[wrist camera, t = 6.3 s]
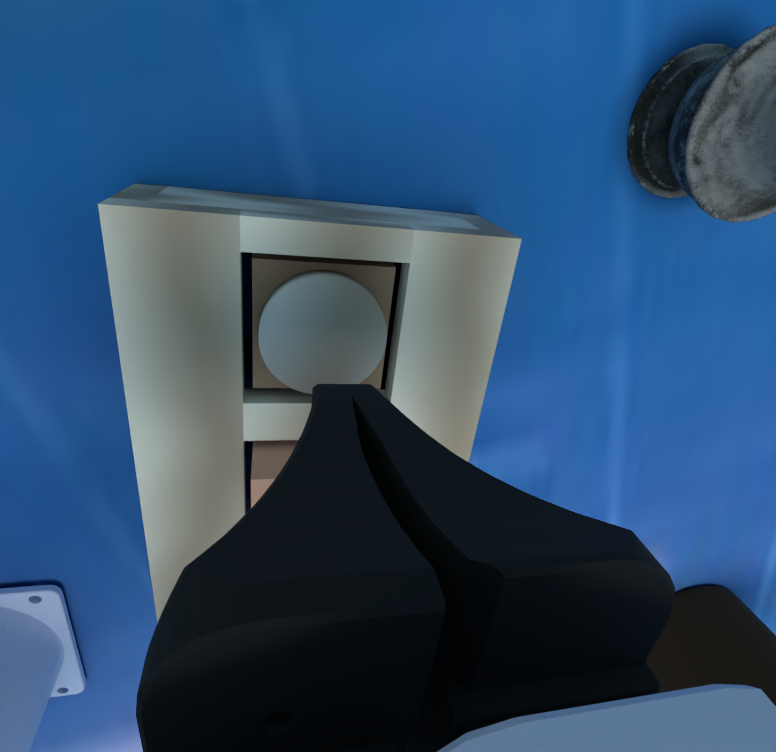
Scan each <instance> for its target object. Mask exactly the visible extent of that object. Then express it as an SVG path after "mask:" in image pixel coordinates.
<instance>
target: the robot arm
mask: <svg viewBox="0 0 776 752" xmlns="http://www.w3.org/2000/svg"><path fill="white" fill-rule="evenodd" d="M674 596H675V587H674V584H673V582H672V580H671V577H670V575H669V574H668V573H667V571H666V570H665V569H664V568H663V567H662V566H661V564H660V563H659V562H658V561H657V560H656V559H655V557H654V556H653V555H652V554H651V553H650V552H649V550H648V549H647V548H646V547H645V546H644V544H643V543H642V542H641V541H640V540H639V539H638V537H637V536H636V535H635V534H634V533H633V532H632V531H631V530H628V529H625V528H622V527H619V526H616V525H612V524H609V523H606V522H603V521H600V520H597V519H593V518H590V517H587V516H584V515H581V514H578V513H575V512H572V511H569V510H567V509H564V508H562V507H559V506H557V505H554V504H552V503H549V502H546V501H544V500H541V499H539V498H537V497H534V496H532V495H530V494H528V493H525V492H523V491H521V490H519V489H517V488H515V487H513V486H511V485H509V484H507V483H505V482H503V481H501V480H499V479H497V478H495V477H493V476H491V475H489V474H487V473H486V472H484V471H482V470H480V469H478V468H477V467H475V466H474V465H472V464H470V463H469V462H467V461H465V460H464V459H462V458H461V457H459V456H457V455H456V454H454V453H453V452H451V451H450V450H448V449H447V448H446V447H444V446H443V445H442V444H440V443H439V442H438V441H436V440H435V439H433V438H432V437H431V436H429V435H428V434H427V433H426V432H424V431H423V430H422V429H421V428H419V427H418V426H417V425H416V424H415V423H413V422H412V421H411V420H410V419H409V418H408V417H406V416H405V415H404V414H403V413H402V412H401V411H400V410H399V409H397V408H396V407H395V406H394V405H393V404H392V403H391V402H390V401H389V400H388V399H387V398H385V397H384V396H383V395H382V394H381V393H380V392H379V391H378V390H377V389H376V388H375V387H373V386H372V385H371V384H317V385H316V386H314V387H313V388H312V404H311V410H310V414H309V416H308V419H307V422H306V424H305V427H304V430H303V432H302V434H301V436H300V438H299V440H298V442H297V444H296V446H295V448H294V450H293V452H292V454H291V455H290V457H289V459H288V460H287V462H286V464H285V465H284V467H283V468H282V470H281V471H280V473H279V474H278V476H277V477H276V479H275V480H274V481H273V482H272V484H271V485H270V486H269V488H268V489H267V490H266V491H265V493H264V494H263V495H262V496H261V498H260V499H259V500H258V501H257V502H256V503H255V505H254V506H253V507H252V508H251V509H250V510H249V511H248V512H247V513H246V514H245V515H244V516H243V517H242V518H241V519H240V520H239V521H238V522H237V523H236V524H235V525H234V526H233V527H232V528H231V529H230V530H229V531H228V532H227V533H226V534H225V535H224V536H223V537H221V538H220V539H219V540H218V541H217V542H215V543H214V544H213V545H212V546H210V547H209V548H208V549H207V550H206V551H204V552H203V553H202V554H201V555H199V556H198V557H197V558H196V559H195V560H193V561H192V562H191V563H189V564H188V565H187V566H185V567H184V569H183V571H182V573H181V574H180V576H179V578H178V580H177V582H176V584H175V586H174V588H173V590H172V592H171V594H170V596H169V598H168V600H167V603H166V605H165V607H164V609H163V611H162V613H161V616H160V618H159V621H158V623H157V626H156V628H155V631H154V634H153V637H152V640H151V642H150V645H149V648H148V651H147V655H146V659H145V663H144V667H143V672H142V676H141V681H140V685H139V689H138V694H137V707H136V717H137V723H138V728H139V733H140V738H141V743H142V748H143V752H776V706H775V705H774V704H773V703H772V702H771V700H770V699H769V698H768V697H767V696H766V694H765V693H764V692H763V691H762V690H761V689H758V688H755V687H751V686H747V685H729V684H711V685H705V686H699V687H693V688H688V689H682V690H676V691H670V692H664V693H658V691H659V690H660V685H659V681H658V679H657V678H656V676H655V675H654V673H653V672H652V670H651V669H650V668H649V666H648V665H647V663H646V662H645V661H646V659H647V657H648V656H649V654H650V652H651V650H652V649H653V647H654V645H655V643H656V641H657V640H658V638H659V636H660V634H661V633H662V631H663V629H664V627H665V626H666V624H667V622H668V619H669V617H670V614H671V612H672V609H673V606H674ZM85 685H86V679H85V675H84V671H83V667H82V664H81V660H80V656H79V652H78V648H77V645H76V641H75V637H74V633H73V629H72V626H71V622H70V618H69V614H68V610H67V607H66V603H65V599H64V595H63V591H62V590H61V588H59V587H58V586H55V585H39V586H26V587H13V588H0V752H30V749H31V746H32V744H33V741H34V738H35V736H36V733H37V731H38V728H39V725H40V723H41V720H42V717H43V715H44V712H45V709H46V707H47V704H48V701H49V699H50V697H57V696H65V695H73V694H78V693H80V692H82V691H83V690H84V688H85ZM657 693H658V694H657Z"/></svg>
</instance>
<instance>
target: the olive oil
mask: <svg viewBox="0 0 776 752" xmlns="http://www.w3.org/2000/svg"><path fill="white" fill-rule="evenodd" d="M645 662H646V663H647V665H648V666H649V668H650V669H651V670H652V672H653V673H654V675H655V676H656V678H657V679H658V681H659V685H660V690H659V691H658V693H664V692H670V691H676V690H682V689H688V688H693V687H699V686H705V685H711V684H729V685H747V686H751V687H755V688H758V689H761V690H762V691H763V692H764V693H765V694H766V696H767V697H768V698H769V699H770V700H771V702H772V703H773V704H774V705H775V706H776V635H775V634H774V633H773V632H772V631H771V630H770V629H769V628H768V627H767V626H766V625H765V624H764V623H763V622H762V621H761V620H760V619H759V618H758V617H757V616H756V615H755V614H754V613H753V612H752V611H751V610H750V609H749V608H748V607H747V606H746V605H745V604H744V603H743V602H742V601H741V600H740V599H739V598H738V597H737V596H736V595H735V594H734V593H732V592H731V591H730V590H728V589H726V588H723V587H719V586H699V587H694V588H690V589H687V590H683V591H681V592H678V593H676V594H675V596H674V606H673V609H672V612H671V614H670V617H669V619H668V622H667V624H666V626H665V627H664V629H663V631H662V633H661V634H660V636H659V638H658V640H657V641H656V643H655V645H654V647H653V649H652V650H651V652H650V654H649V656H648V657H647V659H646V661H645ZM658 693H657V694H658Z"/></svg>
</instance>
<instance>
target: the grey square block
mask: <svg viewBox="0 0 776 752" xmlns="http://www.w3.org/2000/svg"><path fill="white" fill-rule="evenodd" d="M98 208H99V215H100V222H101V229H102V236H103V243H104V250H105V257H106V264H107V271H108V278H109V285H110V292H111V299H112V306H113V313H114V321H115V328H116V335H117V342H118V349H119V356H120V363H121V370H122V377H123V384H124V391H125V398H126V405H127V412H128V419H129V426H130V433H131V440H132V447H133V454H134V461H135V468H136V475H137V482H138V489H139V496H140V503H141V510H142V517H143V524H144V531H145V538H146V545H147V552H148V560H149V567H150V574H151V581H152V588H153V595H154V602H155V609H156V616H157V623H158V621H159V618H160V616H161V613H162V611H163V609H164V607H165V605H166V603H167V600H168V598H169V596H170V594H171V592H172V590H173V588H174V586H175V584H176V582H177V580H178V578H179V576H180V574H181V573H182V571H183V569H184V567H185V566H187V565H188V564H189V563H191V562H192V561H193V560H195V559H196V558H197V557H198V556H199V555H201V554H202V553H203V552H204V551H206V550H207V549H208V548H209V547H210V546H212V545H213V544H214V543H215V542H217V541H218V540H219V539H220V538H221V537H223V536H224V535H225V534H226V533H227V532H228V531H229V530H230V529H231V528H232V527H233V526H234V525H235V524H236V523H237V522H238V521H239V520H240V519H241V518H242V517H243V516H244V515H245V514H246V458H245V441H272V440H299V438H300V436H301V434H302V432H303V430H304V427H305V424H306V422H307V419H308V416H309V414H310V410H311V404H312V394H308V393H303V392H300V391H297V390H295V389H244V330H243V266H242V252H249V253H264V254H279V255H295V256H310V257H325V258H340V259H355V260H370V261H385V262H400V263H402V265H401V272H400V280H399V287H398V295H397V302H396V310H395V318H394V325H393V333H392V340H391V348H390V355H389V363H388V370H387V378H386V385H385V389H377V390H378V391H379V392H380V393H381V394H382V395H383V396H384V397H385V398H387V399H388V400H389V401H390V402H391V403H392V404H393V405H394V406H395V407H396V408H397V409H399V410H400V411H401V412H402V413H403V414H404V415H405V416H406V417H408V418H409V419H410V420H411V421H412V422H413V423H415V424H416V425H417V426H418V427H419V428H421V429H422V430H423V431H424V432H426V433H427V434H428V435H429V436H431V437H432V438H433V439H435V440H436V441H438V442H439V443H440V444H442V445H443V446H444V447H446V448H447V449H448V450H450V451H451V452H453V453H454V454H456V455H457V456H459V457H461V458H462V459H464V460H465V461H467V462H469V458H470V454H471V450H472V446H473V441H474V437H475V433H476V429H477V425H478V420H479V416H480V412H481V408H482V404H483V399H484V395H485V391H486V387H487V383H488V379H489V374H490V370H491V366H492V362H493V358H494V353H495V349H496V345H497V341H498V337H499V333H500V328H501V324H502V320H503V316H504V312H505V307H506V303H507V299H508V295H509V291H510V286H511V282H512V278H513V274H514V270H515V266H516V261H517V257H518V253H519V249H520V245H521V240H522V239H521V238H519V237H517V236H516V235H514V234H512V233H510V232H508V231H506V230H504V229H502V228H500V227H499V226H497V225H495V224H493V223H491V222H489V221H487V220H485V219H483V218H482V217H480V216H478V215H472V214H461V213H451V212H440V211H429V210H418V209H408V208H397V207H386V206H375V205H365V204H354V203H343V202H332V201H322V200H311V199H300V198H289V197H279V196H268V195H257V194H246V193H236V192H225V191H214V190H203V189H193V188H182V187H171V186H160V185H150V184H139V183H135V184H133V185H131V186H129V187H127V188H125V189H124V190H122V191H120V192H118V193H116V194H115V195H113V196H111V197H109V198H107V199H106V200H104V201H102V202H100V203H98Z"/></svg>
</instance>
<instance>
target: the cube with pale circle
mask: <svg viewBox="0 0 776 752" xmlns="http://www.w3.org/2000/svg"><path fill="white" fill-rule="evenodd" d="M395 271H396V267H395V266H394V264H393V263H392V262H385V261H370V260H355V259H340V258H325V257H310V256H295V255H279V254H264V253H253V255H252V336H253V388H292V389H295V390H297V391H300V392H303V393H308V394H312V388H313V387H314V386H316V385H317V384H371V385H372V386H373V387H375V388H376V389H380V388H381V381H382V373H383V365H384V357H385V349H386V342H387V334H388V326H389V318H390V310H391V302H392V294H393V287H394V279H395Z"/></svg>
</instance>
